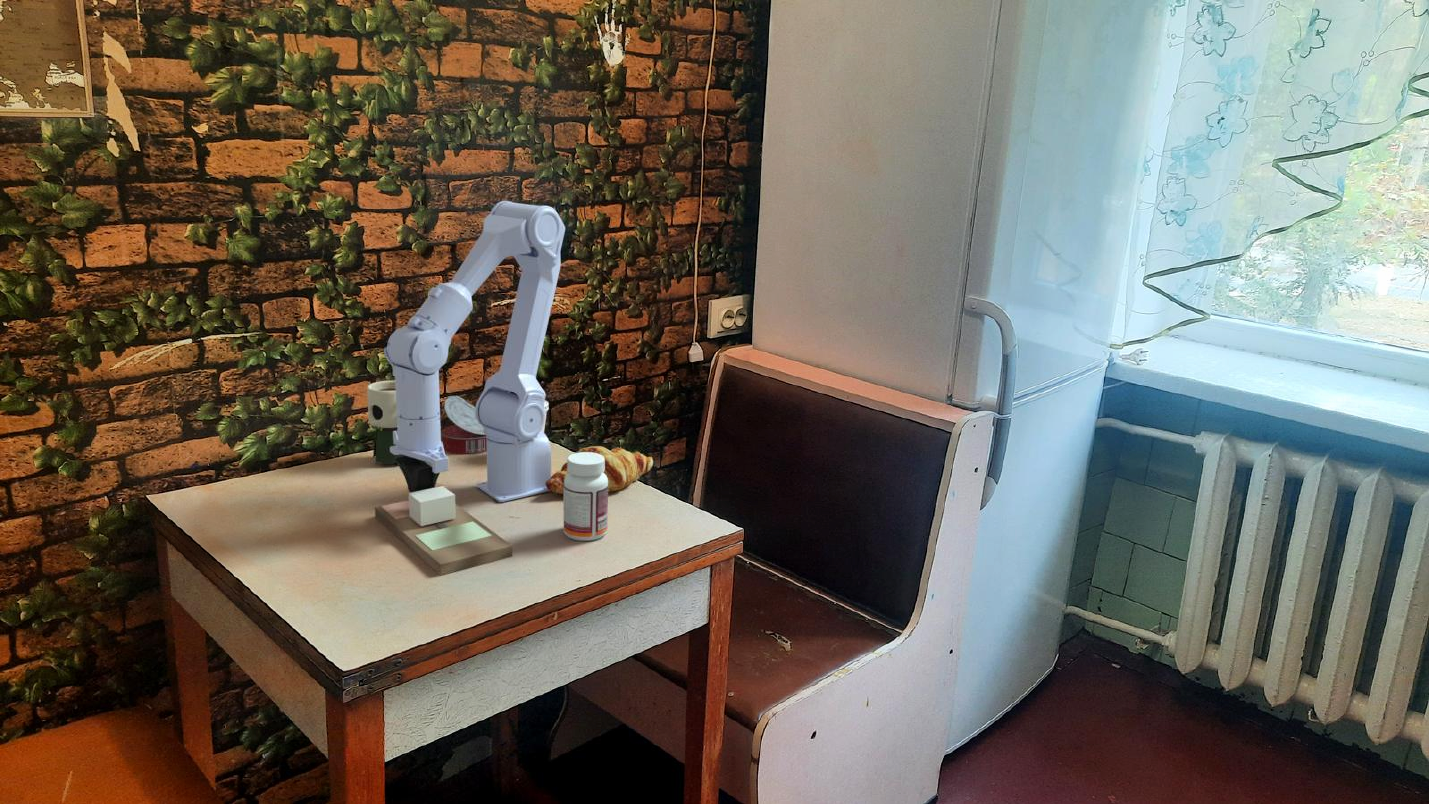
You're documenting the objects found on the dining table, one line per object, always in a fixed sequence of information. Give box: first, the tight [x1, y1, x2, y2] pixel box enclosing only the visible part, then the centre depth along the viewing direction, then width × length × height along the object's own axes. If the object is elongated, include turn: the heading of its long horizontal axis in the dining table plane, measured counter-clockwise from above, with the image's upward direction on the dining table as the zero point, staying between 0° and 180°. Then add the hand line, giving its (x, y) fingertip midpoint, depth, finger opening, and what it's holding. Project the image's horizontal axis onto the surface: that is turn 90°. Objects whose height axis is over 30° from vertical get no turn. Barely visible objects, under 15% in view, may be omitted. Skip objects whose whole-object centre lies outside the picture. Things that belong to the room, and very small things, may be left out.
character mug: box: [366, 380, 406, 465], centre depth 156 cm, size 11×7×13 cm, turn 37°
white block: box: [407, 485, 456, 526], centre depth 131 cm, size 5×4×4 cm
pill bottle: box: [563, 452, 609, 542], centre depth 132 cm, size 6×6×11 cm
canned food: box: [440, 395, 487, 455], centre depth 166 cm, size 11×10×10 cm
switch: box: [374, 499, 513, 576], centre depth 130 cm, size 10×22×2 cm, turn 40°
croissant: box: [546, 445, 654, 495], centre depth 151 cm, size 21×10×8 cm, turn 136°
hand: (422, 505), depth 134 cm, fingers closed
